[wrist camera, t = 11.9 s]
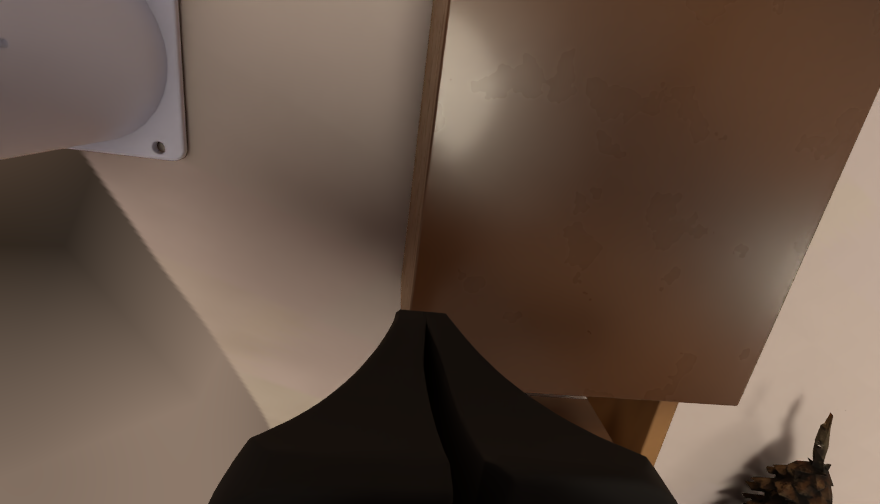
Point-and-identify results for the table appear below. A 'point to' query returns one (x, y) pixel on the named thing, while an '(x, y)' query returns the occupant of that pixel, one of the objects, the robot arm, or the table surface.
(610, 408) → the drawer
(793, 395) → the table surface
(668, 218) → the cabinet
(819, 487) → the pine cone
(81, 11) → the robot arm
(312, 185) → the table surface
